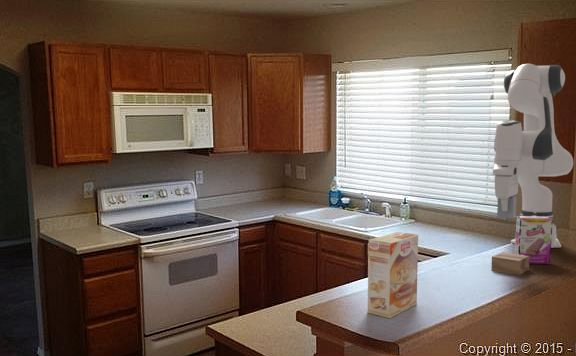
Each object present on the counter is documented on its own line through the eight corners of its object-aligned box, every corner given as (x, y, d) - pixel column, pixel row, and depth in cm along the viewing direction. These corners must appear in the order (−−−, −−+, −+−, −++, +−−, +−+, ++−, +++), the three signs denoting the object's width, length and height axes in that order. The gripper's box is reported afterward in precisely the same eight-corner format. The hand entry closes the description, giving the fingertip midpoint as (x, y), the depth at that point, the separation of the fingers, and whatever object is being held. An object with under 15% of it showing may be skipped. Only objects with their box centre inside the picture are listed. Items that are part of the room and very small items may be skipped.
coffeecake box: (390, 319, 142) (391, 243, 141) (366, 313, 147) (366, 239, 145) (418, 304, 154) (419, 234, 152) (395, 299, 158) (396, 231, 157)
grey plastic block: (500, 216, 194) (500, 195, 193) (515, 217, 191) (516, 196, 191) (497, 217, 189) (497, 197, 189) (513, 218, 187) (513, 197, 186)
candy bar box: (518, 264, 198) (519, 217, 197) (514, 260, 203) (515, 215, 202) (551, 264, 197) (553, 218, 195) (546, 261, 202) (548, 216, 200)
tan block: (502, 266, 196) (502, 252, 196) (528, 270, 190) (529, 256, 189) (491, 271, 190) (491, 256, 189) (518, 275, 183) (518, 260, 183)
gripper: (504, 167, 200) (503, 206, 201) (491, 170, 182) (490, 212, 183) (523, 167, 196) (522, 207, 197) (512, 170, 179) (511, 213, 180)
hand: (506, 209), depth 190 cm, fingers closed on grey plastic block, 5 cm apart
